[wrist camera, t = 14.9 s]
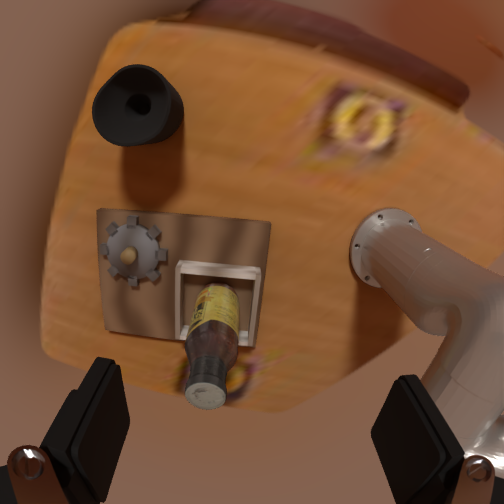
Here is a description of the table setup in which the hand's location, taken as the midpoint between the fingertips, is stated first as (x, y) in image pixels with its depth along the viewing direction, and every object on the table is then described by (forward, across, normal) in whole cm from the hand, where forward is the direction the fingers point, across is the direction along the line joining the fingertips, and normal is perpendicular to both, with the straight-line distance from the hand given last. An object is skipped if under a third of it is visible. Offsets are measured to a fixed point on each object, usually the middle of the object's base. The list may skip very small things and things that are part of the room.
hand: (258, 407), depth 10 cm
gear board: (+36, +9, +12) cm, 39 cm away
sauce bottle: (+35, +3, +14) cm, 38 cm away
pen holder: (+37, +14, -12) cm, 41 cm away
